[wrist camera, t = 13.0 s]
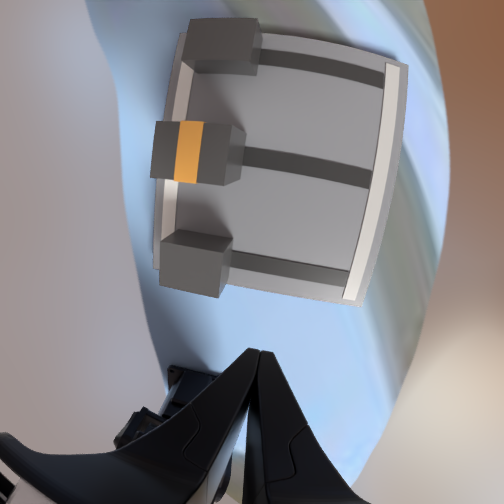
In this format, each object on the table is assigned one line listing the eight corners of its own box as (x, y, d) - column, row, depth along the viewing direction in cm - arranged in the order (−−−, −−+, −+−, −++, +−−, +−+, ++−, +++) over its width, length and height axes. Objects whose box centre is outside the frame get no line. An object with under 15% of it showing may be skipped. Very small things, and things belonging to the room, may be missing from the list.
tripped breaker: (240, 180, 17) (223, 187, 13) (181, 173, 18) (149, 178, 13) (246, 132, 16) (232, 123, 12) (187, 127, 17) (155, 119, 12)
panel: (358, 299, 20) (370, 330, 16) (159, 262, 22) (133, 285, 18) (402, 69, 14) (426, 51, 10) (185, 38, 16) (162, 16, 12)
